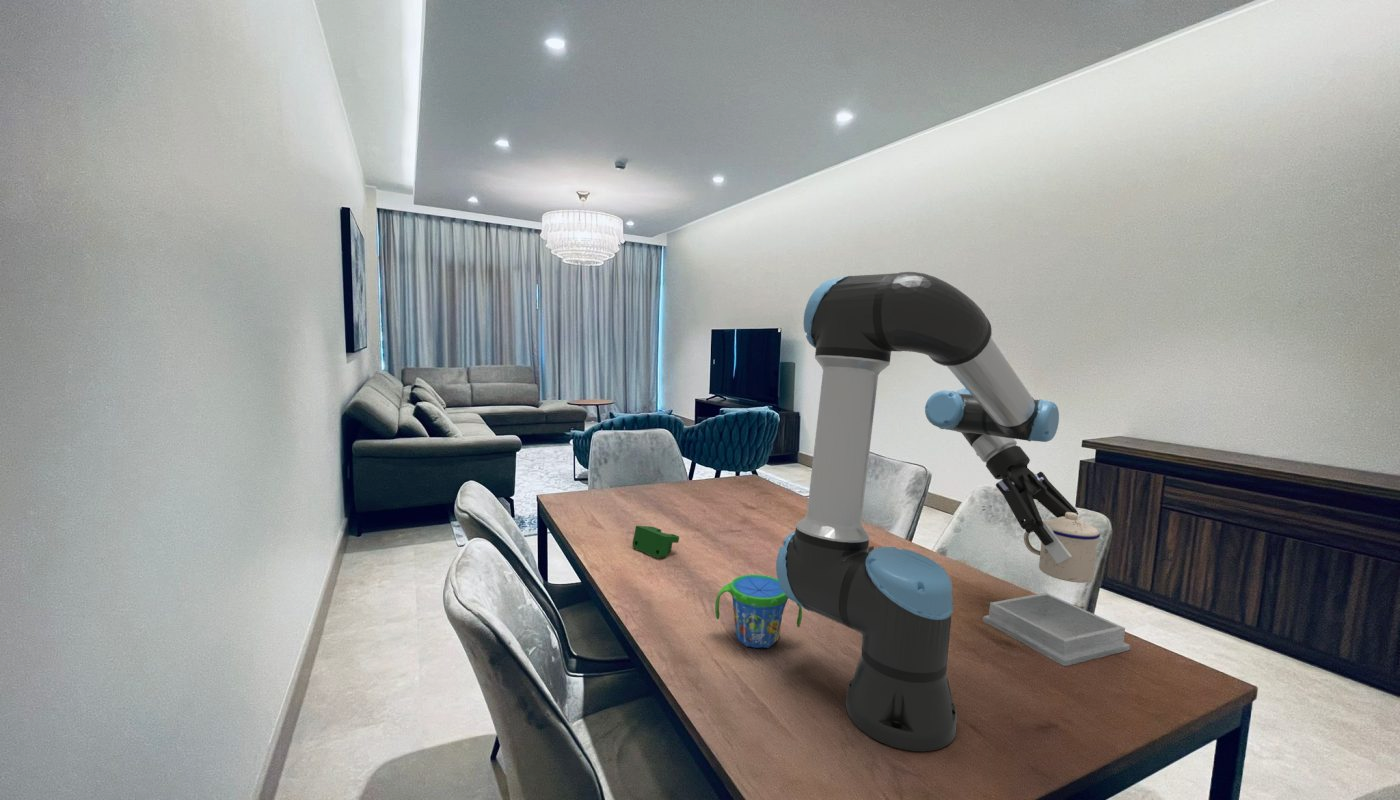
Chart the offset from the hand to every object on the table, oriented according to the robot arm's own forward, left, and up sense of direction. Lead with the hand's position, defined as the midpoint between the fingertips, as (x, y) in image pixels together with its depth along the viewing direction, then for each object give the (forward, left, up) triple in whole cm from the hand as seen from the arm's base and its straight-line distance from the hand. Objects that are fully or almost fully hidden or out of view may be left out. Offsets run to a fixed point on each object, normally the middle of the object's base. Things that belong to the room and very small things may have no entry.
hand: (1078, 555), depth 104 cm
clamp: (-60, +67, -17) cm, 91 cm away
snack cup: (-55, +19, -17) cm, 61 cm away
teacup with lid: (-1, +3, -4) cm, 5 cm away
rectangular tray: (0, +3, -17) cm, 17 cm away
